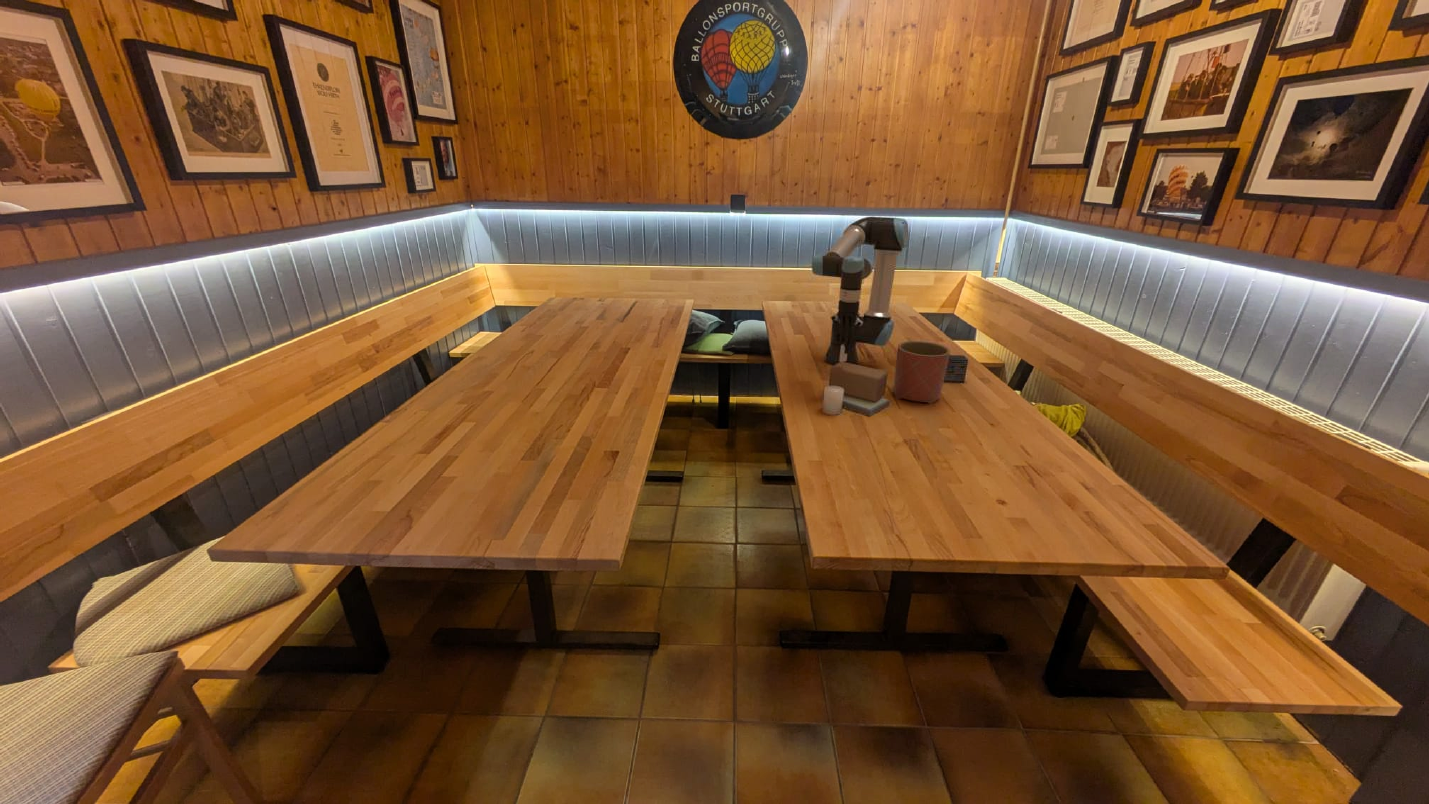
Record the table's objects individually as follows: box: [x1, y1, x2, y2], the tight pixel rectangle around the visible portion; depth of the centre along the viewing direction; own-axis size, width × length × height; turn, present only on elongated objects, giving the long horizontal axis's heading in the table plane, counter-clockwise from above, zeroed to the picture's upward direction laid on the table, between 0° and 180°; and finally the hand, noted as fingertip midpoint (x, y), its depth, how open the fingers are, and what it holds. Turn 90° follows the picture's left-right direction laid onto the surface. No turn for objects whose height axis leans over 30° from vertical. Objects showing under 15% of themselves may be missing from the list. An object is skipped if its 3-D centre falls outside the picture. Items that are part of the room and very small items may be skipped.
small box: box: [943, 354, 969, 384], centre depth 236 cm, size 11×6×10 cm, turn 84°
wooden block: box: [828, 362, 889, 402], centre depth 216 cm, size 10×10×20 cm
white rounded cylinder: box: [822, 385, 844, 415], centre depth 206 cm, size 7×7×9 cm
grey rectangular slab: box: [842, 394, 891, 417], centre depth 214 cm, size 19×14×2 cm
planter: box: [892, 340, 951, 405], centre depth 218 cm, size 19×19×20 cm
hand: (843, 360), depth 213 cm, fingers closed
